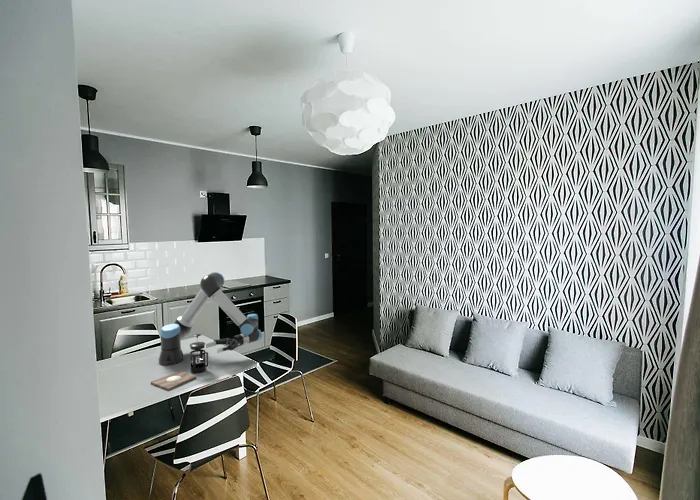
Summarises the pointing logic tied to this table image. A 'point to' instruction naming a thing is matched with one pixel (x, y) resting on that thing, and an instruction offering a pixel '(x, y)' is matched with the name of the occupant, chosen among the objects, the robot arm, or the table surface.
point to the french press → (197, 363)
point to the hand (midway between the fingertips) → (211, 348)
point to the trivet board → (173, 380)
